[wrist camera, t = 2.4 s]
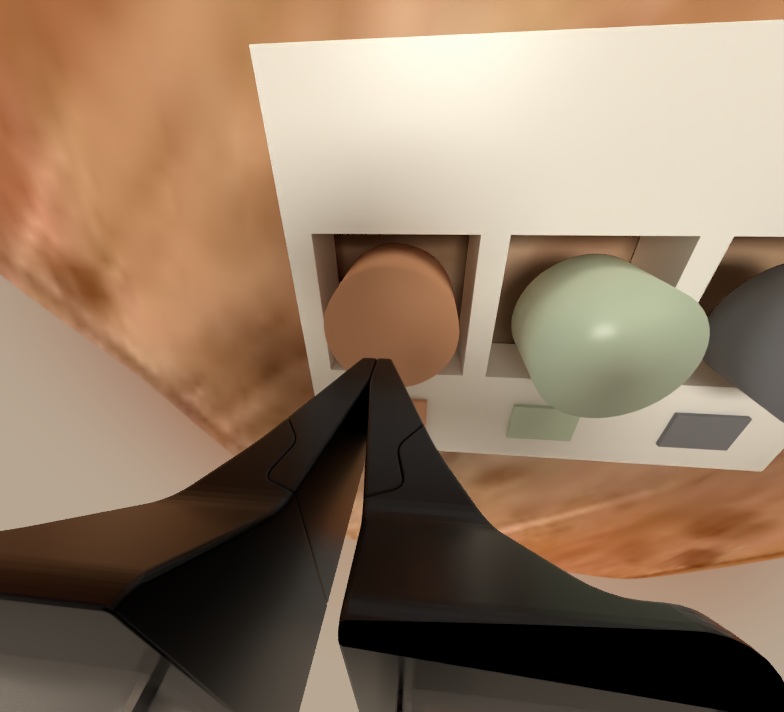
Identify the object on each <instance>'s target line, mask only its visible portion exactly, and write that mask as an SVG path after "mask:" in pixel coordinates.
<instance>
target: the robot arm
mask: <svg viewBox="0 0 784 712" xmlns="http://www.w3.org/2000/svg"><path fill="white" fill-rule="evenodd" d="M364 463H365V478H364V497H363V498H364V501H363V514H362V523H361V528H360V532H359V536H358V541H357V545H356V549H355V553H354V558H353V562H352V566H351V571H350V575H349V579H348V583H347V588H346V592H345V597H344V600H343V606H342V610H341V614H340V621H339V628H338V641H339V645H340V648H341V652H342V655H343V659H344V662H345V665H346V669H347V672H348V675H349V679H350V682H351V686H352V689H353V692H354V696H355V699H356V702H357V706H358V709H359V712H784V682H783V680H782V678H781V676H780V675H779V674H778V673H777V671H776V670H775V669H774V667H773V666H772V665H771V664H770V663H769V661H768V660H767V659H765V658H764V657H763V656H762V655H760V654H759V653H758V652H757V651H755V649H753V648H752V647H751V646H750V645H748V644H747V643H745V642H744V641H742V640H741V639H739V638H738V637H737V636H736V635H734V634H733V633H731V632H730V631H728V630H726V629H725V628H723V627H722V626H720V625H719V624H718V623H716V622H715V621H713V620H712V619H710V618H709V617H707V616H705V615H704V614H702V613H700V612H698V611H696V610H693V609H691V608H687V607H684V606H681V605H676V604H670V603H663V602H651V601H642V600H635V599H629V598H624V597H620V596H617V595H614V594H610V593H607V592H604V591H602V590H599V589H597V588H595V587H592V586H590V585H588V584H586V583H584V582H582V581H581V580H579V579H577V578H575V577H573V576H572V575H570V574H568V573H567V572H565V571H564V570H562V569H560V568H559V567H557V566H555V565H554V564H552V563H550V562H549V561H547V560H545V559H544V558H542V557H541V556H539V555H537V554H536V553H534V552H532V551H531V550H529V549H527V548H526V547H524V546H522V545H521V544H519V543H518V542H516V541H514V540H513V539H511V538H509V537H508V536H506V535H504V534H503V533H501V532H500V531H498V530H497V529H496V528H495V527H494V526H492V525H491V524H490V523H489V522H488V521H487V520H486V518H485V517H484V516H483V515H482V514H481V512H480V511H479V510H478V508H477V507H476V506H475V504H474V503H473V501H472V500H471V498H470V497H469V496H468V494H467V493H466V491H465V490H464V489H463V487H462V486H461V484H460V483H459V481H458V480H457V479H456V477H455V476H454V474H453V473H452V471H451V470H450V469H449V467H448V466H447V464H446V463H445V461H444V460H443V458H442V457H441V455H440V454H439V452H438V450H437V449H436V447H435V445H434V443H433V441H432V440H431V438H430V436H429V434H428V432H427V430H426V428H425V427H424V424H423V422H422V420H421V418H420V416H419V414H418V412H417V410H416V408H415V406H414V404H413V402H412V400H411V398H410V396H409V394H408V392H407V390H406V388H405V386H404V383H403V381H402V379H401V377H400V375H399V373H398V371H397V369H396V367H395V365H394V363H393V361H392V360H391V359H387V358H379V359H376V358H362V359H361V360H360V361H358V362H357V363H356V364H354V365H353V366H352V367H351V368H349V369H348V370H347V371H346V372H344V373H343V374H342V375H341V376H339V377H338V378H337V379H336V380H334V381H333V382H332V383H331V384H329V385H328V386H327V387H326V388H324V389H323V390H322V391H321V392H319V393H318V394H317V395H316V396H314V397H313V398H312V399H311V400H309V401H308V402H307V403H306V404H304V405H303V406H302V407H301V408H299V409H298V410H297V411H296V412H294V413H293V414H292V415H291V416H289V418H288V419H286V420H284V421H283V422H282V423H280V424H279V425H278V426H277V427H275V428H274V429H273V430H271V431H270V432H269V433H268V434H266V435H265V436H264V437H262V438H261V439H260V440H258V441H257V442H255V443H254V444H252V445H251V446H249V447H248V448H247V449H245V450H244V451H242V452H241V453H239V454H238V455H236V456H235V457H233V458H232V459H231V460H229V461H227V462H226V463H224V464H223V465H221V466H220V467H218V468H217V469H215V470H214V471H212V472H211V473H209V474H208V475H206V476H205V477H203V478H202V479H200V480H199V481H197V482H195V483H194V484H192V485H191V486H189V487H188V488H186V489H184V490H182V491H181V492H179V493H177V494H175V495H173V496H170V497H168V498H165V499H162V500H159V501H156V502H152V503H148V504H143V505H138V506H133V507H128V508H122V509H117V510H112V511H106V512H101V513H97V514H91V515H86V516H81V517H76V518H70V519H65V520H60V521H55V522H49V523H45V524H39V525H34V526H29V527H23V528H17V529H11V530H4V531H0V712H299V710H300V706H301V702H302V698H303V694H304V691H305V687H306V683H307V679H308V675H309V672H310V668H311V664H312V660H313V656H314V653H315V649H316V645H317V641H318V638H319V633H320V630H321V626H322V622H323V619H324V615H325V611H326V607H327V604H326V603H327V602H328V599H329V595H330V592H331V587H332V584H333V580H334V576H335V573H336V569H337V565H338V561H339V558H340V554H341V550H342V546H343V542H344V539H345V535H346V531H347V527H348V523H349V520H350V516H351V512H352V508H353V504H354V501H355V497H356V493H357V489H358V485H359V482H360V478H361V474H362V470H363V466H364Z"/></svg>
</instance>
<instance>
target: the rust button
mask: <svg viewBox="0 0 784 712" xmlns="http://www.w3.org/2000/svg"><path fill="white" fill-rule="evenodd" d="M324 333H325V337H326V341H327V344H328V346H329V348H330V350H331V352H332V354H333V356H334V357H335V358H336V360H337V361H338V362H339V363H340V364H341V366H342V367H344V368H345V369H346V370H348V369H349V368H351V367H352V366H353V365H354V364H356V363H357V362H358V361H360V360H361V359H362V358H376V359H379V358H387V359H391V360H392V361H393V363H394V365H395V367H396V369H397V371H398V373H399V375H400V377H401V379H402V381H403V383H404V386H405V387H408V386H413V385H416V384H419V383H422V382H424V381H427V380H429V379H430V378H432V377H434V376H435V375H437V374H438V373H439V372H440V371H441V370H443V368H444V367H445V366H446V365H447V364H448V363H449V361H450V360H451V359H452V357H453V355H454V353H455V351H456V348H457V345H458V340H459V320H458V315H457V309H456V304H455V298H454V293H453V288H452V284H451V281H450V278H449V276H448V274H447V272H446V270H445V269H444V267H443V266H442V265H441V264H440V262H439V261H437V260H436V259H435V258H434V257H433V256H432V255H430V254H429V253H427V252H426V251H424V250H422V249H420V248H417V247H414V246H410V245H406V244H388V245H383V246H379V247H376V248H374V249H372V250H370V251H368V252H366V253H365V254H363V255H362V256H361V257H360V258H358V259H357V260H356V261H355V263H354V264H353V265H352V266H351V268H350V269H349V271H348V272H347V274H346V275H345V277H344V278H343V280H342V282H341V283H340V285H339V286H338V288H337V289H336V291H335V292H334V294H333V295H332V297H331V299H330V300H329V303H328V305H327V308H326V311H325V316H324Z"/></svg>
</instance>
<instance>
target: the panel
mask: <svg viewBox="0 0 784 712" xmlns="http://www.w3.org/2000/svg"><path fill="white" fill-rule="evenodd" d="M249 47H250V52H251V58H252V63H253V68H254V74H255V79H256V84H257V90H258V95H259V101H260V106H261V111H262V117H263V122H264V127H265V133H266V138H267V143H268V149H269V154H270V159H271V165H272V170H273V175H274V181H275V186H276V191H277V197H278V202H279V207H280V213H281V218H282V223H283V229H284V234H285V239H286V245H287V250H288V256H289V261H290V266H291V272H292V277H293V282H294V288H295V293H296V298H297V304H298V309H299V314H300V320H301V325H302V330H303V336H304V341H305V346H306V352H307V357H308V362H309V368H310V373H311V378H312V384H313V389H314V394H315V396H316V395H317V394H318V393H319V392H321V391H322V390H323V389H324V388H326V387H327V386H328V385H329V384H331V383H332V382H333V381H334V380H336V379H337V378H338V377H339V376H341V375H342V374H343V373H344V372H346V371H347V370H346V369H345V368H344V367H342V366H341V364H340V363H339V362H338V361H337V360H336V358H335V357H334V356H333V354H332V352H331V350H330V348H329V346H328V344H327V341H326V337H325V333H324V316H325V311H326V308H327V305H328V303H329V300H330V299H331V297H332V295H333V294H334V292H335V291H336V289H337V288H338V286H339V278H338V269H337V260H336V250H335V241H334V234H442V235H469V242H468V251H467V260H466V269H465V278H464V287H463V295H462V304H461V313H460V322H459V340H458V345H457V348H456V351H455V353H454V355H453V357H452V359H451V360H450V361H449V363H448V364H447V365H446V366H445V367H444V368H443V370H441V371H440V372H439V373H438V374H437V375H435V376H434V377H432V378H430V379H429V380H427V381H424V382H422V383H419V384H416V385H413V386H408V387H405V388H406V390H407V392H408V394H409V396H410V398H411V400H412V402H413V404H414V406H415V408H416V410H417V412H418V414H419V416H420V418H421V420H422V422H423V424H424V427H425V428H426V430H427V432H428V434H429V436H430V438H431V440H432V441H433V443H434V445H435V447H436V449H437V450H438V451H449V452H464V453H480V454H495V455H511V456H527V457H542V458H558V459H573V460H589V461H605V462H620V463H636V464H651V465H667V466H683V467H698V468H714V469H729V470H745V471H761V472H762V471H763V470H764V469H765V468H766V467H767V466H768V465H769V464H770V462H771V461H772V460H773V459H774V458H775V457H776V456H777V455H778V454H779V453H780V452H781V451H782V450H783V449H784V423H783V422H782V421H780V420H779V419H777V418H776V417H775V416H773V415H772V414H771V413H769V412H768V411H767V410H765V409H764V408H763V407H761V406H760V405H759V404H758V403H756V402H755V401H754V400H752V399H751V398H750V397H748V396H747V395H746V394H744V393H743V392H742V391H741V390H739V389H738V388H737V387H735V386H734V385H733V384H731V383H730V382H729V381H727V380H726V379H725V378H724V377H722V376H721V375H720V374H718V373H717V372H716V371H714V370H713V369H712V368H710V367H709V366H708V365H707V364H706V363H705V362H704V361H703V359H702V361H701V363H700V364H699V366H698V367H697V368H696V370H695V371H694V373H693V374H692V375H691V376H690V377H689V378H688V379H687V380H686V381H685V382H684V383H683V384H682V385H681V386H680V387H679V388H677V389H676V390H675V391H673V392H672V393H671V394H669V395H668V396H666V397H665V398H663V399H662V400H660V401H658V402H656V403H654V404H652V405H650V406H648V407H645V408H643V409H641V410H638V411H635V412H632V413H628V414H624V415H620V416H615V417H608V418H584V417H577V416H572V415H569V414H566V413H563V412H561V411H559V410H557V409H555V408H553V407H552V406H550V405H549V404H548V403H547V402H546V401H544V400H543V398H542V397H541V396H540V395H539V393H538V391H537V389H536V388H535V385H534V383H533V381H532V379H531V377H530V374H529V372H528V370H527V368H526V366H525V364H524V361H523V359H522V357H521V355H520V353H519V350H518V348H517V346H516V344H503V343H492V338H493V332H494V327H495V321H496V316H497V310H498V304H499V299H500V293H501V288H502V282H503V277H504V271H505V266H506V260H507V255H508V249H509V244H510V238H511V235H597V236H641V237H640V239H639V242H638V244H637V247H636V250H635V252H634V255H633V257H632V260H631V262H630V263H631V264H633V265H635V266H636V267H638V268H640V269H642V270H644V271H646V272H647V273H649V274H651V275H653V276H655V277H656V278H658V279H660V280H662V281H664V282H666V283H667V284H669V285H671V286H673V287H675V288H676V289H678V290H680V291H682V292H684V293H685V294H687V295H689V296H690V297H692V298H693V299H694V300H695V301H696V302H699V300H700V298H701V296H702V295H703V293H704V291H705V289H706V287H707V285H708V284H709V282H710V280H711V278H712V276H713V274H714V273H715V271H716V269H717V267H718V265H719V263H720V262H721V260H722V258H723V256H724V254H725V252H726V251H727V249H728V247H729V245H730V243H731V241H732V240H733V238H734V236H752V237H784V20H762V21H741V22H719V23H698V24H676V25H655V26H633V27H612V28H590V29H569V30H547V31H526V32H504V33H483V34H461V35H440V36H419V37H397V38H376V39H354V40H333V41H311V42H290V43H268V44H249Z"/></svg>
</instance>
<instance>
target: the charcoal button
mask: <svg viewBox="0 0 784 712" xmlns="http://www.w3.org/2000/svg"><path fill="white" fill-rule="evenodd" d="M708 322H709V327H710V337H709V343H708V347H707V350H706V352H705V355H704V357H703V361H704V362H705V363H706V364H707V365H708V366H709V367H710V368H712V369H713V370H714V371H716V372H717V373H718V374H720V375H721V376H722V377H724V378H725V379H726V380H727V381H729V382H730V383H731V384H733V385H734V386H735V387H737V388H738V389H739V390H741V391H742V392H743V393H744V394H746V395H747V396H748V397H750V398H751V399H752V400H754V401H755V402H756V403H758V404H759V405H760V406H761V407H763V408H764V409H765V410H767V411H768V412H769V413H771V414H772V415H773V416H775V417H776V418H777V419H779V420H780V421H782V422H783V423H784V264H781V265H778V266H775V267H773V268H771V269H768V270H766V271H764V272H762V273H760V274H758V275H756V276H754V277H753V278H751V279H749V280H748V281H746V282H744V283H743V284H741V285H740V286H739V287H737V288H736V289H735V290H733V291H732V292H731V293H730V294H729V295H727V296H726V297H725V298H724V299H723V300H722V301H721V302H720V303H719V304H718V305H717V306H716V308H715V309H714V310H713V311H712V312H711V314H710V315H709V317H708Z"/></svg>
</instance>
